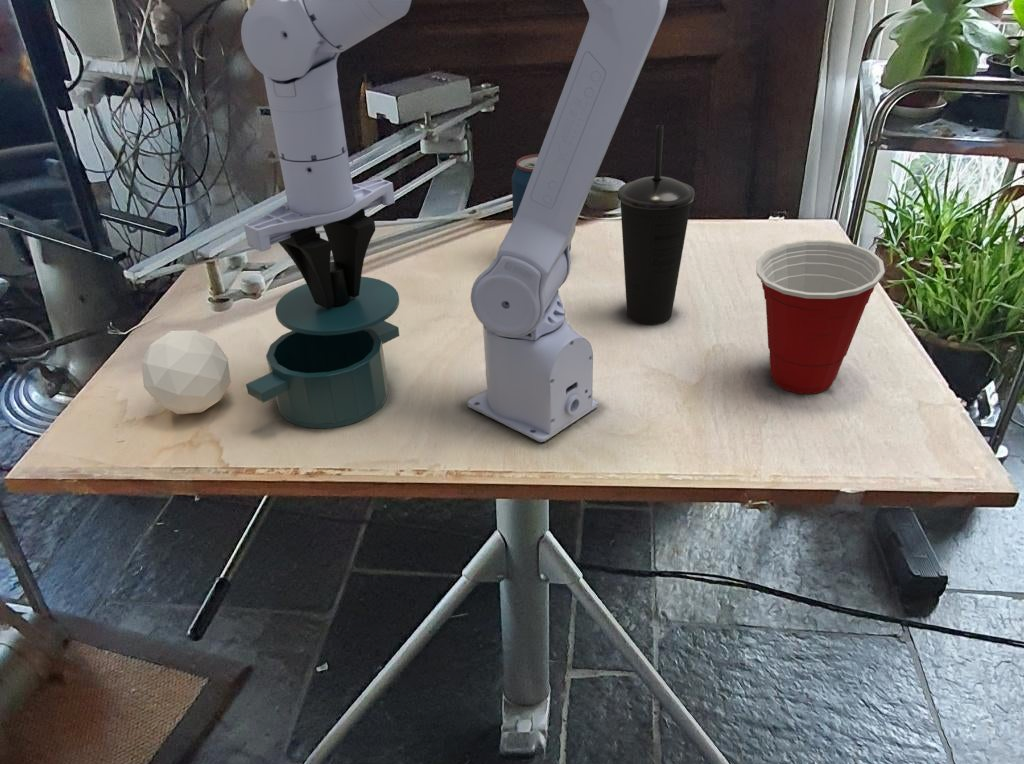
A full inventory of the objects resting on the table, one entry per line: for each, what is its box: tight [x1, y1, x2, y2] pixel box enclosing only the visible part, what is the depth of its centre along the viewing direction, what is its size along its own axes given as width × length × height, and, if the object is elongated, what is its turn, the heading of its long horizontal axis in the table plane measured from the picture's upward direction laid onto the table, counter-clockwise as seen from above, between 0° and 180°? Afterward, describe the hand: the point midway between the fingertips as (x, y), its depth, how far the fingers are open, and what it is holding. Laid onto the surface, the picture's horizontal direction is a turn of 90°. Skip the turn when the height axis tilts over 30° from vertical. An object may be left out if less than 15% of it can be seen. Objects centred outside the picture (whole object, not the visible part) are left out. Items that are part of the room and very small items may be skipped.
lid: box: [275, 261, 400, 336], centre depth 82 cm, size 11×11×5 cm
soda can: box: [511, 153, 572, 253], centre depth 107 cm, size 7×7×12 cm
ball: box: [141, 329, 232, 415], centre depth 83 cm, size 8×8×8 cm
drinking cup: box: [617, 124, 696, 325], centre depth 91 cm, size 8×8×20 cm
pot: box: [245, 320, 400, 429], centre depth 84 cm, size 10×16×6 cm, turn 137°
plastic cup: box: [755, 239, 886, 395], centre depth 81 cm, size 11×11×12 cm
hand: (337, 299), depth 83 cm, fingers closed on lid, 2 cm apart
